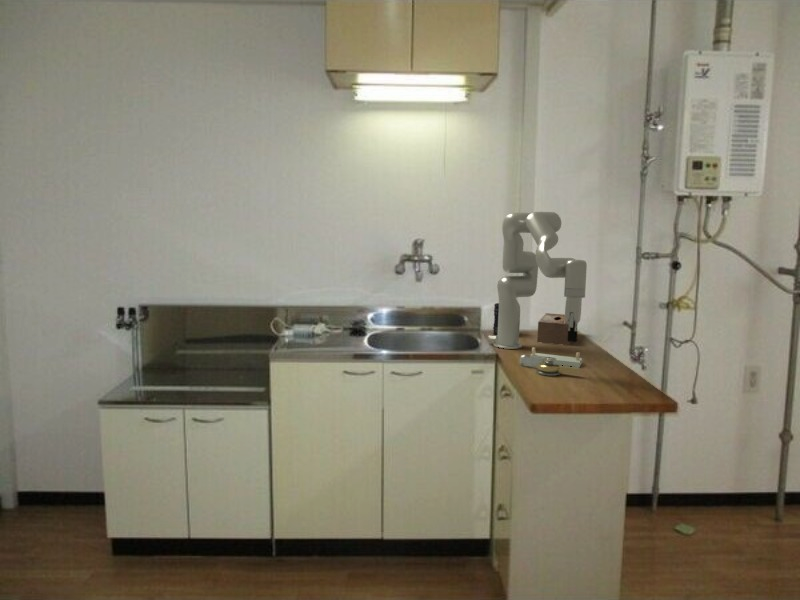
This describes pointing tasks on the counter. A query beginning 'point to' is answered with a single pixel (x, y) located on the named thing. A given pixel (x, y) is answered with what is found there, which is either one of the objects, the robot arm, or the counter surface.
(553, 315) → the tissue box cover
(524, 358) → the steel bar
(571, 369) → the gold handled disc
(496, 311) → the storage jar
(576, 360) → the peg rest
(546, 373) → the round gray base
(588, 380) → the counter surface
